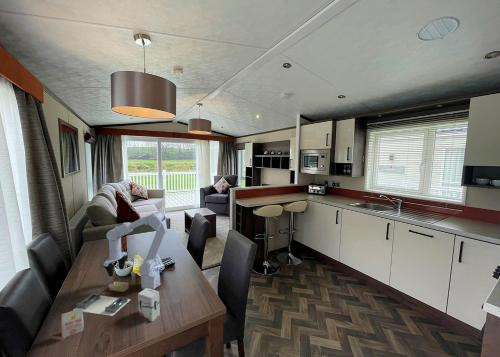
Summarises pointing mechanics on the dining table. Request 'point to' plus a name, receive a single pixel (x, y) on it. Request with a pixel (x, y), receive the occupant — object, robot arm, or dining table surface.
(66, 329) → the tea bag
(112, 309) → the chain ends
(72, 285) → the dining table surface
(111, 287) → the brass block
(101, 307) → the board
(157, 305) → the ink box
